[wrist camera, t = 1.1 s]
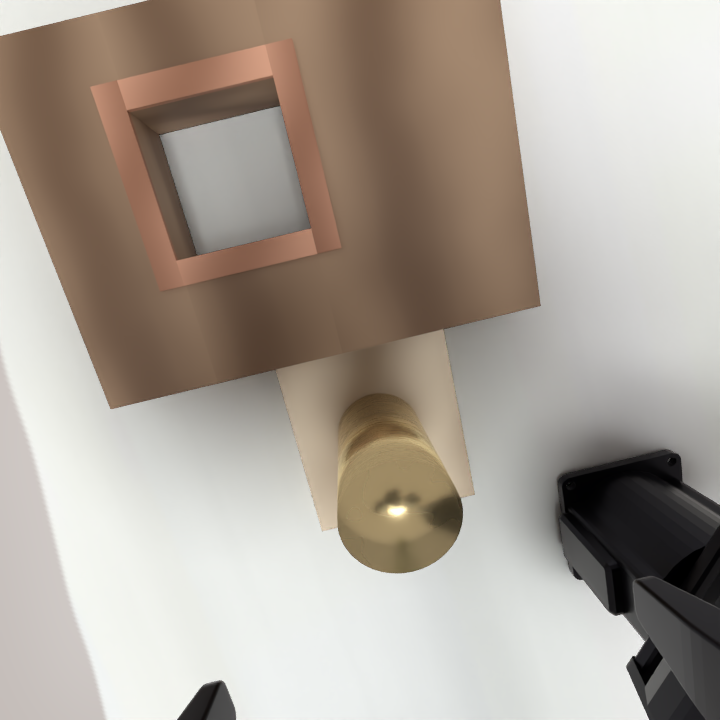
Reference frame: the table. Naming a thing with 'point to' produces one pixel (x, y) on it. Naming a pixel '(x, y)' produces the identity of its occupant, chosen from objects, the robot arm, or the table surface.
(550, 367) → the table surface
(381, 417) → the brass peg
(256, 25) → the walnut board
